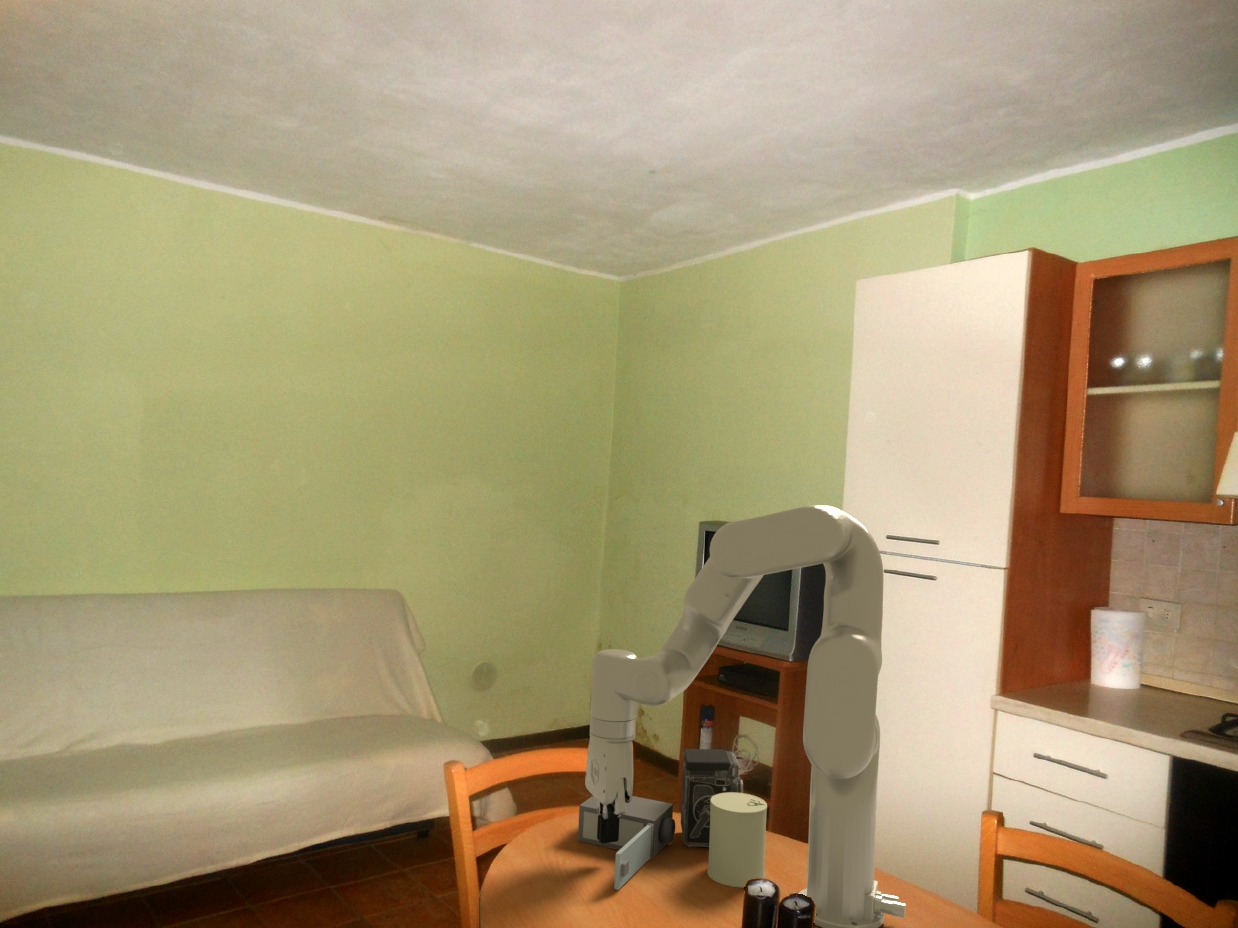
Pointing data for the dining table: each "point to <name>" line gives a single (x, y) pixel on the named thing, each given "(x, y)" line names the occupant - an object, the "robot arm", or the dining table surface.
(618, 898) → the dining table surface
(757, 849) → the can
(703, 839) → the camera
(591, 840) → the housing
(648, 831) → the side door
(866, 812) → the robot arm
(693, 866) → the dining table surface
